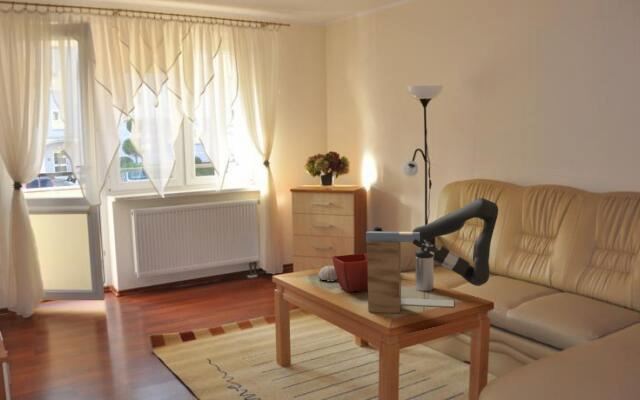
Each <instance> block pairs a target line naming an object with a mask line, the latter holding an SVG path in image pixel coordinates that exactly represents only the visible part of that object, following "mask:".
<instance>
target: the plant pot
mask: <svg viewBox="0 0 640 400" xmlns="http://www.w3.org/2000/svg"><path fill="white" fill-rule="evenodd" d="M331 258H332V264H333V266H334V268H335V272H336V276H337V279H338V280H337V282H338V285H339V287H340V288H341V287H342V288H343V289H342V288H341V289H342V290H344V289H345V290H346V291H345V290H344V291H345V292H347V291H348V292H347V293H355V292H354V291H358V292H364V291H365V292H366V291H368V264H367V254H366V253H355V254H354V253H353V254H352V253H351V254H344V255H333V256H331Z"/></svg>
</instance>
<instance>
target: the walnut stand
mask: <svg viewBox="0 0 640 400" xmlns="http://www.w3.org/2000/svg"><path fill="white" fill-rule="evenodd" d="M401 245H402V242H371V241H366V247H367V248H366V251H367V252H366V253H367V264H368V290H367V308H368V309H367V312H368V311H371V312H370V313H385V314H386V313H388V314H389V313H390V314H400V312H401V308H402V305H401V298H402V274H401V271H402V262H401V261H402V260H401V258H402V257H401V255H402V254H401Z"/></svg>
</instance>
